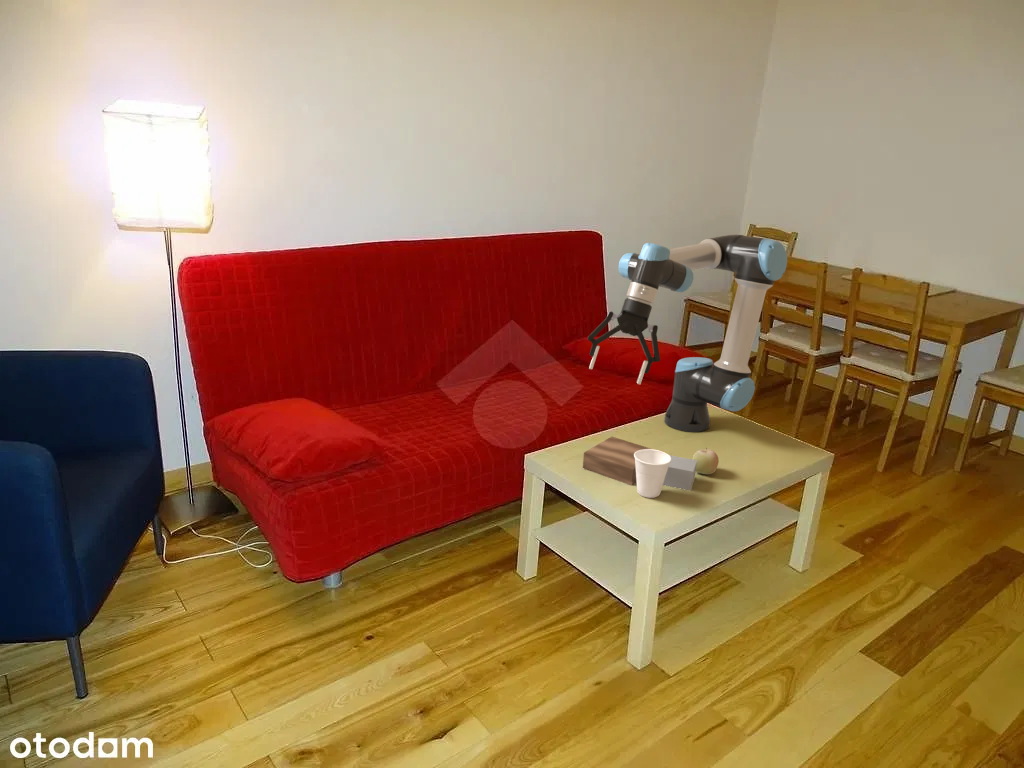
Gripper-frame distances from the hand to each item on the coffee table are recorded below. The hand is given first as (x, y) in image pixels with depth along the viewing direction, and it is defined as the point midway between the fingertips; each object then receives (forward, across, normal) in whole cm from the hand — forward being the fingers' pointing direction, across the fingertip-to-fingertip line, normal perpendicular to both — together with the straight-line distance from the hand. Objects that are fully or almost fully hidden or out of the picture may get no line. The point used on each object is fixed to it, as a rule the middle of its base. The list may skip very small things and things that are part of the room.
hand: (614, 376), depth 194 cm
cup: (+28, +18, -2) cm, 33 cm away
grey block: (+24, +27, +6) cm, 36 cm away
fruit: (+20, +35, +13) cm, 42 cm away
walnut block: (+26, +11, +12) cm, 31 cm away
